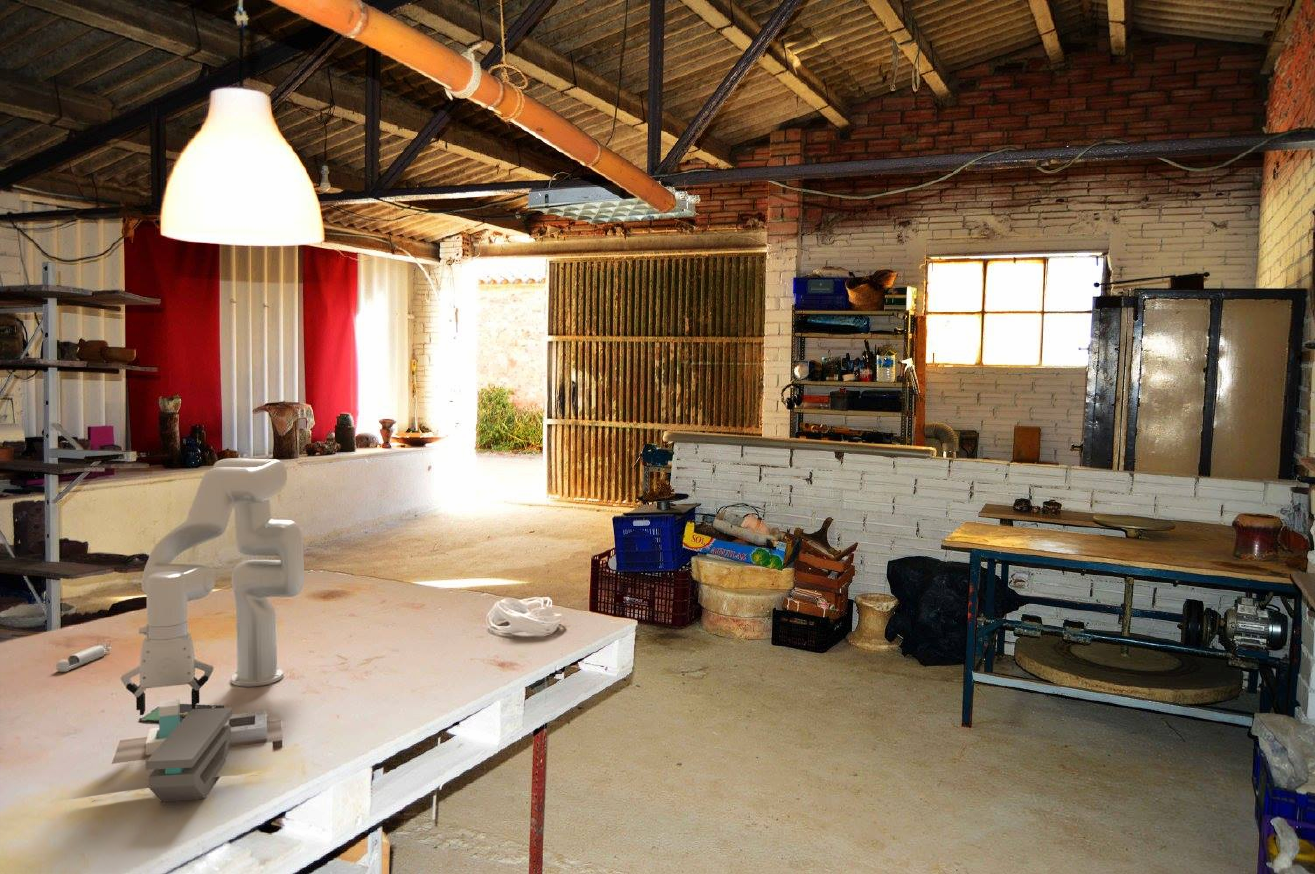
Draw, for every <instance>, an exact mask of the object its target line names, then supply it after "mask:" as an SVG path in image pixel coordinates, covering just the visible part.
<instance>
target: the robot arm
mask: <svg viewBox="0 0 1315 874" xmlns="http://www.w3.org/2000/svg"><path fill="white" fill-rule="evenodd" d="M287 480H288V470H287V468H286V466H285V464H284V463H283V461H281V460H279V459H276V458H275V459H274V458H273V459H272V458H249V457H248V458H247V457H246V458H245V457H244V458H243V457H242V458H237V457H235V458H234V457H233V458H232V457H231V458H229V457H228V458H223V459H220V460H218V461H216V462H215V463H214V464H213V467H212V468H209V469H208V470H207V471H205V473H204V474H203V475H202V478H201V480H200V483H199V485H198V488H197V490H196V494H195V496H194V499H193V501H192V503H191V506H190V509H189V511H188V514H187V517H186V519H185V520H184V521H183V522H182V523H180V524H178V525H177V526H176V527H175V528H172V529H171V530H170V531H169V532H167V534H166V535H164V536H163V537H162V538H161V539H160V540H159V541H158V542H157V543H156V544H155V545H154V547H153V548H152V550H151V552H150V554H149V557H148V559H147V561H146V564H145V565H144V570H143V573H142V577H141V588H142V589H141V590H142V592H143V593H144V594H145V595H146V625H145V626H143V627H139V629H138V634H139V635H145V636H146V637H144V638H143V640H142V644H141V650H140V658H139V659H140V660H139V665H138V666H136V667H134V668H133V669H131V670H129V671H127V672H125V673H123V674H121V676H120V681H121V682H122V684H123V685H124V686H125V688H126V690H127V691H129V692H131V694H133V695H134V697H136V698H135V699H136V700H135V701H136V704H135V705H136V711H139V716H143V715H145V713H146V692H145V691H146V689H154V688H155V689H157V688H166V687H167V688H168V687H177V686H183V685H189V686H190V687H191V694H190V695H191V704H192V709H195V708H196V704H198V705H200V701H201V700H200V690H201V688H202V687H203V686H204V685H205V684H206V683H207V682H208V680H209V679H210V677H211V676H212V673H213V672H214V669H215V668H214V666H213V665H211V664H208V663H205V662H202V661H200V660H196V659H195V650H194V649H195V648H194V643H193V638H192V635H191V633H189V632H188V602H191V601H195V600H201V599H203V598H205V597H207V596H208V595H209V594H210V593H211V592H212V591H213V590H214V587H215V585H216V575H215V572H214V570H213V569H212V568H211V567H209V566H207V565H203V564H191V563H190V564H185V563H172V562H174V560H175V559H176V558H178V556H179V555H181V554H182V553H184V552H185V551H187V550H189V549H191V548H193V547H196V546H198V545H202V544H205V543H207V542H209V541H211V540H215V539H217V538H219V537H220V536H222V535H223V534H224V533H225V532H226V529H227V526H228V523H229V520H230V517H231V514H232V511H233V512H234V528H235V529H234V530H235V531H234V532H235V541H236V548H237V550H238V552H239V553H240V554H241V555H244V556H248V557H267V558H268V557H273V558H276V557H277V558H278V559H249V560H248V559H247V560H242V561H241V562H239V563H237V564H236V565H235V566H234V568H233V570H232V572H231V584H232V585H231V586H232V589H233V595H234V600H235V609H236V610H235V611H236V612H235V613H236V668H237V669H236V672H235V673H233V674H232V675H231V677H230V683H231V684H232V685H235V686H237V687H247V688H248V687H249V688H250V687H251V688H253V687H260V686H267V685H271V684H274V683H277V682H278V681H280V680H281V679H282V678H283V677H284V670H282V669H281V668H278V660H277V659H278V654H277V653H278V651H277V649H278V648H277V641H278V640H277V611H276V607H275V605H274V603H273V602H272V600H271V599H270V598H293V597H297V596H298V595H299V594H301V592H302V591H303V588H304V584H305V561H304V558H305V556H304V541H303V539H304V538H303V532H302V529H301V526H299V524H298V523H297V522H296V521H293V520H290V519H274V518H272V513H271V502H270V498H272V497H274V496H276V495H278V494H279V493H280V492H281V491H282V490H283V489H284V487H285V485H286V483H287ZM196 669H198V670H200V671H203V672H204V674H203V675H202V676H201V677H200V678H199V679H198V678H197V677H196V676H195V674H196ZM138 675H139V685H137V684H135V683H134V682H133V681H132V680H131V679H132V678H133V677H135V676H138Z"/></svg>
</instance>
